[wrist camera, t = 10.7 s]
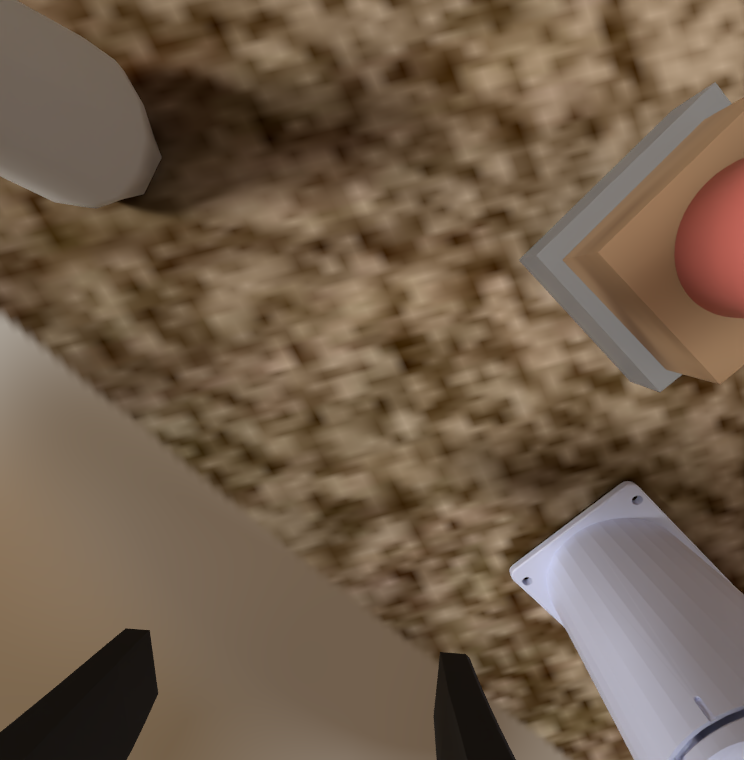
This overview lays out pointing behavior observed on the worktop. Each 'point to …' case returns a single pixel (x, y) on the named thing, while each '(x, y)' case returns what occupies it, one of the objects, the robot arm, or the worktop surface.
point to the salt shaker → (68, 115)
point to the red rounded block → (714, 244)
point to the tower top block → (666, 257)
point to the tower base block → (588, 214)
